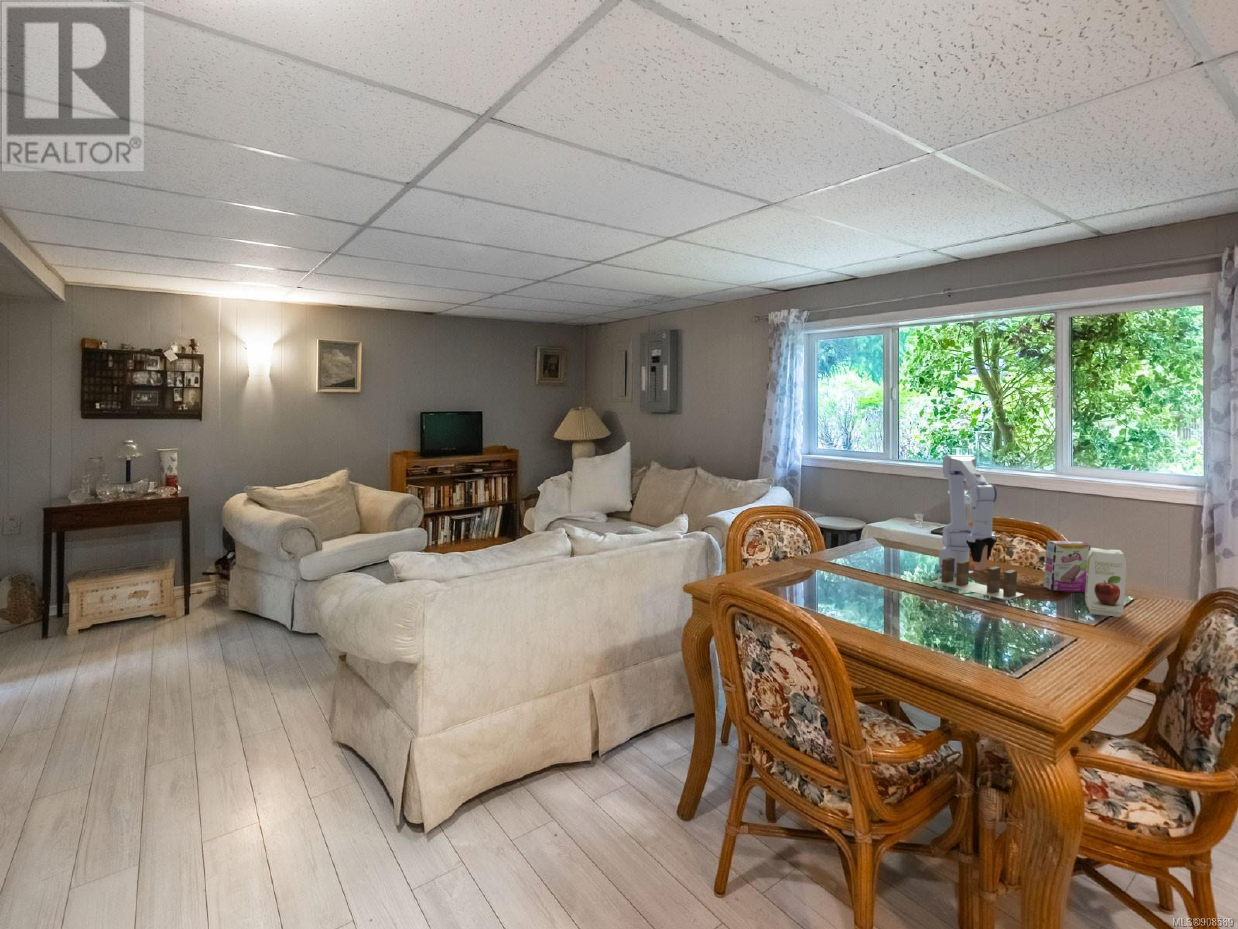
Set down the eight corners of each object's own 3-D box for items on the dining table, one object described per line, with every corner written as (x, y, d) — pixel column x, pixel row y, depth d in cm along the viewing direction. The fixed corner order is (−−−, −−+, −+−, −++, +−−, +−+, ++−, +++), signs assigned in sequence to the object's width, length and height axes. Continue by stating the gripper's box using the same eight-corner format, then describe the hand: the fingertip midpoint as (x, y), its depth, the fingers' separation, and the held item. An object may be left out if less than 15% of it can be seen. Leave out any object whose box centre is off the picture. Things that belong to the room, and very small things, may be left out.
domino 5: (1003, 596, 194) (1004, 572, 193) (1010, 593, 197) (1011, 569, 196) (1008, 597, 193) (1009, 573, 192) (1015, 594, 195) (1017, 570, 195)
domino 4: (986, 592, 198) (987, 568, 197) (994, 589, 201) (995, 566, 200) (991, 593, 197) (993, 569, 196) (999, 591, 199) (1000, 567, 199)
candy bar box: (1052, 592, 199) (1054, 543, 198) (1043, 587, 204) (1045, 540, 203) (1088, 592, 198) (1091, 544, 197) (1078, 588, 203) (1081, 540, 202)
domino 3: (974, 569, 202) (975, 546, 201) (981, 567, 205) (982, 544, 204) (979, 570, 201) (980, 547, 200) (986, 568, 203) (987, 545, 203)
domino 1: (941, 581, 211) (942, 559, 210) (949, 579, 213) (950, 557, 213) (946, 583, 209) (947, 560, 209) (953, 580, 212) (954, 558, 211)
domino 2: (956, 585, 206) (956, 562, 206) (963, 582, 209) (964, 560, 208) (960, 586, 205) (961, 563, 204) (968, 584, 208) (969, 561, 207)
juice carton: (1083, 607, 184) (1086, 546, 182) (1119, 611, 180) (1123, 549, 178) (1087, 614, 178) (1091, 551, 176) (1124, 619, 173) (1128, 554, 172)
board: (930, 583, 211) (930, 581, 211) (947, 578, 217) (947, 576, 217) (1007, 601, 190) (1008, 600, 190) (1024, 595, 196) (1024, 594, 196)
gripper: (984, 524, 194) (982, 566, 195) (1005, 520, 202) (1004, 559, 203) (961, 521, 200) (960, 561, 201) (983, 517, 208) (982, 555, 209)
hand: (980, 560), depth 202 cm, fingers closed on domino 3, 5 cm apart
